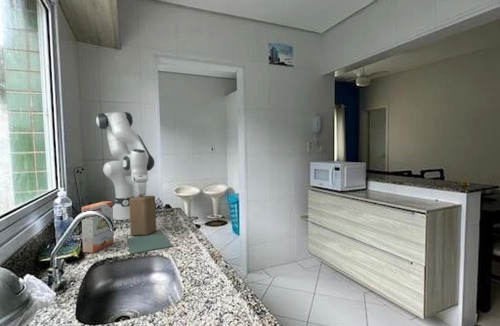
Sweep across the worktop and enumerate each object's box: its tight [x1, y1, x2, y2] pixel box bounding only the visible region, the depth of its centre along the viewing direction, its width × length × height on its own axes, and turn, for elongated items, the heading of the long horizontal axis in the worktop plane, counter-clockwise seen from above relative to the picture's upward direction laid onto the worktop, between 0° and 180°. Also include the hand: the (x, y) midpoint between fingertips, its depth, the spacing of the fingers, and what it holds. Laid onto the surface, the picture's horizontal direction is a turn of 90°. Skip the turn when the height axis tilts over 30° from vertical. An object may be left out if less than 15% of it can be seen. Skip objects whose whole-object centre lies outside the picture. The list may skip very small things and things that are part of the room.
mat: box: [126, 232, 173, 255], centre depth 130 cm, size 22×18×1 cm
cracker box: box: [81, 200, 115, 254], centre depth 124 cm, size 14×6×21 cm, turn 171°
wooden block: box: [129, 195, 157, 236], centre depth 145 cm, size 10×10×20 cm
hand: (140, 201), depth 153 cm, fingers closed
